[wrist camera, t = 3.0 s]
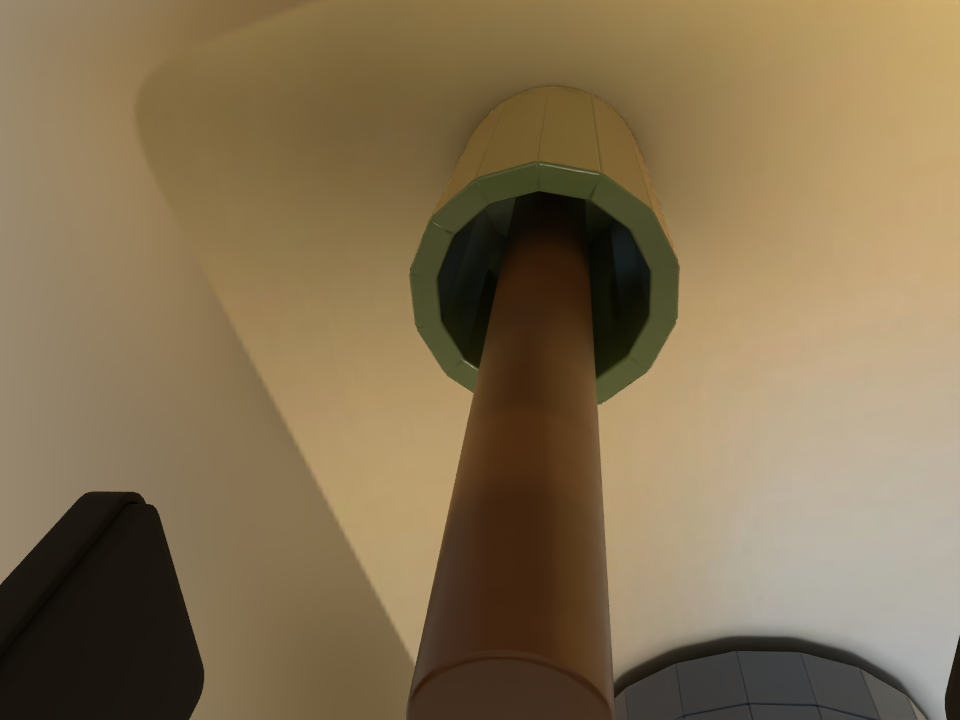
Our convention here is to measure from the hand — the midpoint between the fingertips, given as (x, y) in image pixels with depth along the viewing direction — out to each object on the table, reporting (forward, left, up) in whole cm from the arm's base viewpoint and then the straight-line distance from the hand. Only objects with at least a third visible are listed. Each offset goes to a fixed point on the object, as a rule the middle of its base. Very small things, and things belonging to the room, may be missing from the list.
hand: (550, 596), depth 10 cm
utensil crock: (0, 0, -19) cm, 19 cm away
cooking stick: (0, 0, -18) cm, 18 cm away
